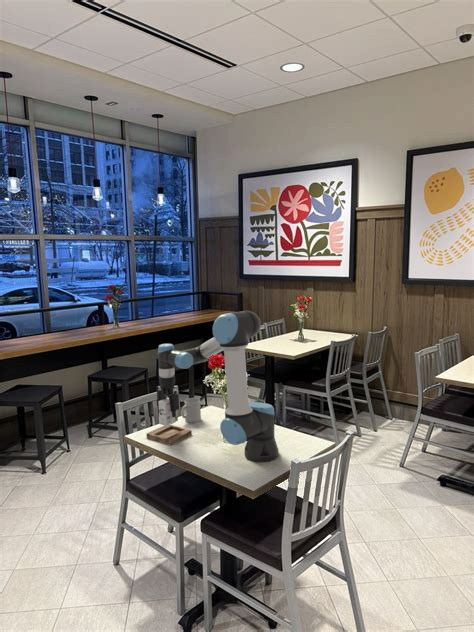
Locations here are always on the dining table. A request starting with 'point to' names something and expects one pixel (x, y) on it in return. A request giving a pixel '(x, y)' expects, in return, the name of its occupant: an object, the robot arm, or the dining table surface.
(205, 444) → the dining table surface
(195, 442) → the dining table surface
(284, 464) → the dining table surface
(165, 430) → the tray
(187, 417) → the mug
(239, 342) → the robot arm
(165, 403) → the ink box
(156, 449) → the dining table surface
